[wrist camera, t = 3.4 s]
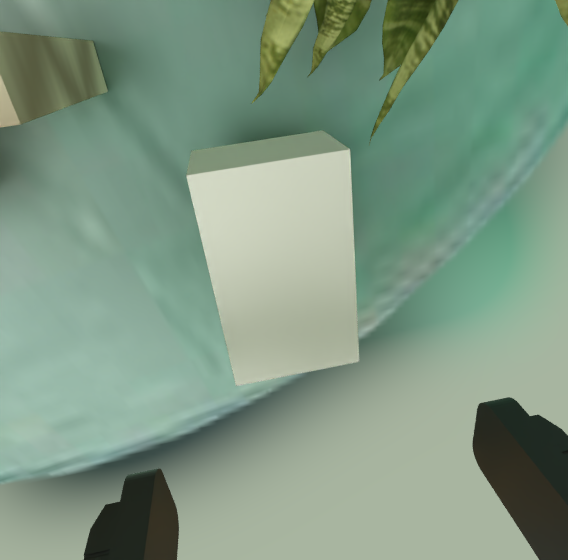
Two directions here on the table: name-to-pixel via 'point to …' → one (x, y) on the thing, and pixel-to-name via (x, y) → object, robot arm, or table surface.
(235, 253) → the cabinet
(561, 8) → the house plant
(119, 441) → the table surface
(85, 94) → the wall board
